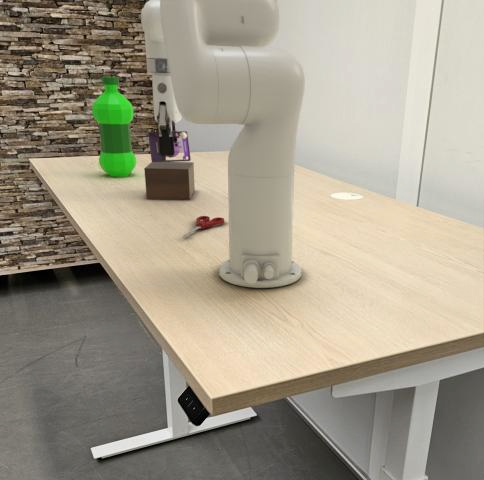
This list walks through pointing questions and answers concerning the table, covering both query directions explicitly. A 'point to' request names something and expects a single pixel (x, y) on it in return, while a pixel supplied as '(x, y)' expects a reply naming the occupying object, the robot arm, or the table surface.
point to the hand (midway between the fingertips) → (169, 152)
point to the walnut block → (169, 180)
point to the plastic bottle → (114, 129)
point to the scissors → (206, 223)
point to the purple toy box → (162, 158)
